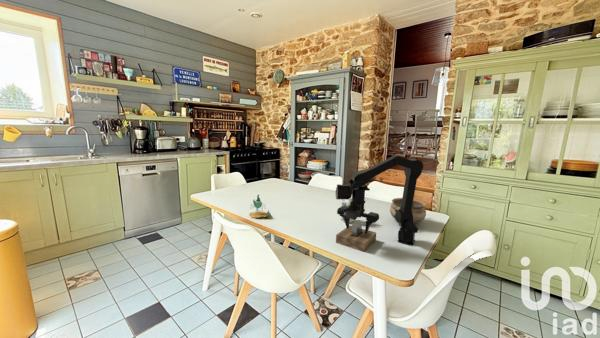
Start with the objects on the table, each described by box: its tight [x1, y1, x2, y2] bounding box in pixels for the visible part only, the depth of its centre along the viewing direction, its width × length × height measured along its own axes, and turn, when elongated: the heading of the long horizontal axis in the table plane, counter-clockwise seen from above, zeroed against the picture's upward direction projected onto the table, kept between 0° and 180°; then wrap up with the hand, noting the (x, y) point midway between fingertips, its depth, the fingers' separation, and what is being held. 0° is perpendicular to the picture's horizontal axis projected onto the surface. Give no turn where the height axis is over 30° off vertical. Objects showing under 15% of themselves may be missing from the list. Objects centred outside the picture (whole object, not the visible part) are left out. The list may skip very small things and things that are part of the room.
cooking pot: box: [389, 197, 427, 225], centre depth 137 cm, size 25×19×12 cm
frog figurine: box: [248, 194, 273, 219], centre depth 145 cm, size 10×18×15 cm, turn 53°
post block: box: [335, 224, 377, 253], centre depth 114 cm, size 14×14×4 cm
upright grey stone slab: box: [351, 220, 363, 237], centre depth 113 cm, size 2×6×8 cm, turn 143°
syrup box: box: [340, 196, 355, 224], centre depth 138 cm, size 6×6×14 cm
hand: (356, 231), depth 113 cm, fingers open, 9 cm apart
